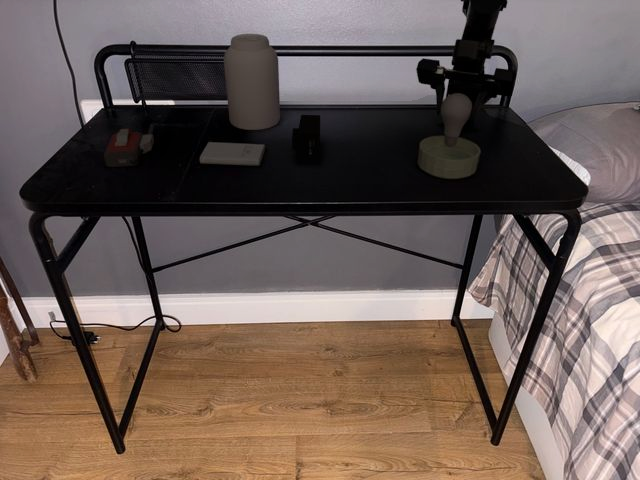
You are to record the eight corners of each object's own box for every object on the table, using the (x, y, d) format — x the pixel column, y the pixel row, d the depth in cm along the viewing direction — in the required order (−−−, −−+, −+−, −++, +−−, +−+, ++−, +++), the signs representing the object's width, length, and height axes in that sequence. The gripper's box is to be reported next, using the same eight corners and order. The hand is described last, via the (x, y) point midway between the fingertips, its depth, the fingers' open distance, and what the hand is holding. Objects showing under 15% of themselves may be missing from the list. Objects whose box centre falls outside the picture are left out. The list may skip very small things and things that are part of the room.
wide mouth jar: (290, 119, 126) (288, 35, 115) (259, 135, 117) (254, 46, 106) (251, 108, 131) (245, 27, 120) (218, 124, 123) (209, 38, 111)
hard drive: (209, 148, 112) (265, 150, 111) (200, 164, 105) (259, 166, 104) (208, 141, 111) (264, 143, 110) (199, 157, 104) (258, 159, 103)
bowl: (451, 150, 112) (454, 131, 109) (488, 173, 103) (493, 153, 101) (405, 160, 108) (408, 141, 105) (440, 185, 99) (444, 165, 96)
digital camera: (296, 143, 114) (295, 113, 110) (320, 144, 114) (320, 114, 110) (292, 163, 106) (291, 132, 102) (318, 164, 105) (318, 133, 101)
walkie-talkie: (148, 168, 103) (158, 130, 119) (144, 148, 101) (155, 112, 117) (103, 170, 102) (119, 131, 118) (98, 150, 99) (115, 113, 115)
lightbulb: (447, 155, 100) (456, 101, 93) (428, 143, 104) (436, 91, 98) (471, 149, 102) (482, 96, 95) (451, 138, 106) (460, 86, 100)
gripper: (425, 14, 95) (402, 90, 93) (528, 25, 89) (505, 106, 87) (429, 47, 106) (409, 115, 104) (522, 58, 99) (502, 131, 98)
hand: (453, 116), depth 98 cm, fingers closed on lightbulb, 6 cm apart
